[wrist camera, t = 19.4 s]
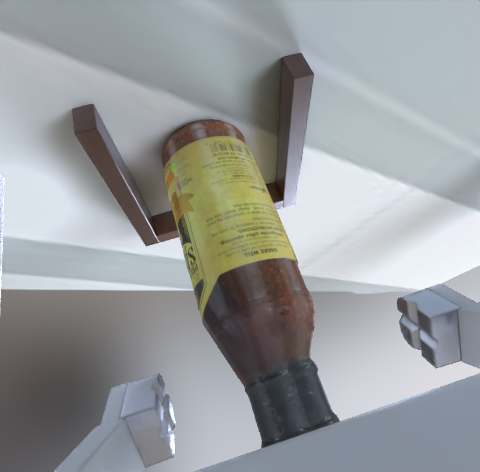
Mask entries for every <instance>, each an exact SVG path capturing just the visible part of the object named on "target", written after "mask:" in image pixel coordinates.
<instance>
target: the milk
mask: <svg viewBox="0 0 480 472" xmlns="http://www.w3.org/2000/svg"><path fill="white" fill-rule="evenodd" d="M3 204H4V176H2V175H0V300H1V268H2V236H3Z"/></svg>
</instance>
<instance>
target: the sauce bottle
mask: <svg viewBox="0 0 480 472" xmlns="http://www.w3.org/2000/svg"><path fill="white" fill-rule="evenodd" d="M162 159H163V161H162V162H163V166H164V180H165V184H166V188H167V192H168V196H169V200H170V203H171V207H172V210H173V214H174V218H175V222H176V225H177V230H178V234H179V237H180V240H181V245H182V248H183V253H184V257H185V260H186V264H187V269H188V271H189V274H190V278H191V281H192V285H193V289H194V293H195V296H196V299H197V303H198V309H199V311H200V314H201V318H202V322H203V325H204V327H205V328H206V330H207V331H208V332H209V334H210V335H211V337H212V339H213V340H214V342H215V343H216V344H217V346H218V348H219V349H220V351H221V352H222V354H223V355H224V357H225V358H226V360H227V361H228V363H229V364H230V366H231V367H232V369H233V371H234V372H235V373H236V375H237V377H238V378H239V379H240V381H241V382H242V384H243V385H244V387H245V392H246V393H247V395H248V397H249V399H250V402H251V405H252V409H253V412H254V415H255V419H256V422H257V426H258V429H259V432H260V435H261V438H262V447H261V449H262V448H264V447H267V446H270V445H273V444H276V443H279V442H282V441H285V440H288V439H291V438H294V437H296V436H299V435H302V434H305V433H308V432H311V431H314V430H317V429H320V428H323V427H326V426H328V425H331V424H334V423H337V422H340V421H339V419H338V417H337V416H336V415H335V414H334V413H333V412H332V409H331V407H330V404H329V402H328V399H327V396H326V394H325V391H324V389H323V387H322V384H321V381H320V379H319V376H318V373H317V372H318V368H317V365H316V364H315V363H314V362H313V361H312V360H311V358H310V348H311V341H312V332H313V330H314V313H315V311H314V306H313V302H312V300H311V296H310V294H309V291H308V290H307V288H306V286H305V283H304V280H303V278H302V276H301V273H300V271H299V269H298V261H297V258H296V256H295V253H294V251H293V249H292V246H291V244H290V242H289V239H288V237H287V234H286V232H285V230H284V227H283V225H282V223H281V220H280V218H279V215H278V213H277V211H276V208H275V206H274V204H273V201H272V199H271V196H270V194H269V192H268V189H267V187H266V185H265V182H264V180H263V178H262V175H261V173H260V171H259V168H258V166H257V164H256V161H255V159H254V156H253V154H252V151H251V150H250V149H249V147H248V146H247V145H246V142H245V140H244V136H243V135H242V133H241V132H240V131H239V130H238V129H237V128H236V127H234V126H233V125H231V124H228V123H224V122H222V121H219V120H200V121H198V122H195V123H192V124H189V125H187V126H186V127H184V128H182V129H180V130H179V131H177V132H176V133H174V134H173V135H172V136H171V137H170V138H169V140H168V142H166V145H165V147H164V149H163V153H162Z"/></svg>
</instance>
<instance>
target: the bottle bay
mask: <svg viewBox="0 0 480 472" xmlns="http://www.w3.org/2000/svg"><path fill="white" fill-rule="evenodd" d="M313 77H314V73H313V72H312V70H311V68H310V67H309V65H308V63H307V62H306V60H305V58H304V57H303V55H302V53H298V54H294V55H290V56H286V57H282V70H281V89H280V109H279V128H278V147H277V167H276V183H272V184H269V185H266V187H267V189H268V192H269V194H270V196H271V199H272V201H273V204H274V206H275V208H276V209H280V208H282V207H283V208H284V207H287V206H291V205H294V204H295V203H296V196H297V189H298V182H299V175H300V168H301V161H302V154H303V147H304V140H305V133H306V126H307V119H308V112H309V105H310V98H311V91H312V84H313ZM73 120H74V131H75V135H76V137H77V138H78V140H79V141H80V143H81V145H82V146H83V148H84V149H85V151H86V152H87V154H88V156H89V157H90V159H91V160H92V162H93V163H94V165H95V167H96V168H97V170H98V171H99V173H100V174H101V176H102V178H103V179H104V181H105V182H106V184H107V186H108V187H109V189H110V190H111V192H112V193H113V195H114V197H115V198H116V200H117V201H118V203H119V204H120V206H121V208H122V209H123V211H124V212H125V214H126V215H127V217H128V219H129V220H130V222H131V223H132V225H133V226H134V228H135V230H136V231H137V233H138V234H139V236H140V237H141V239H142V241H143V242H144V244H145V245H146V246H149V245H152V244H156V243H159V242H163V241H167V240H170V239H174V238H177V237H179V234H178V230H177V225H176V222H175V218H174V214H173V211H171V212H167V213H164V214H160V215H157V216H153V217H152V216H151V214H150V212H149V210H148V208H147V206H146V204H145V202H144V200H143V198H142V196H141V195H140V193H139V191H138V189H137V187H136V185H135V183H134V181H133V179H132V177H131V175H130V173H129V171H128V170H127V168H126V166H125V164H124V162H123V160H122V158H121V156H120V154H119V152H118V150H117V148H116V146H115V144H114V143H113V141H112V139H111V137H110V135H109V133H108V131H107V129H106V127H105V125H104V123H103V121H102V119H101V118H100V116H99V114H98V112H97V110H96V108H95V106H94V105H93V104H91V105H87V106H83V107H78V108H74V109H73Z"/></svg>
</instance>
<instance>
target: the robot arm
mask: <svg viewBox="0 0 480 472" xmlns="http://www.w3.org/2000/svg"><path fill="white" fill-rule="evenodd" d="M397 307H398V310H399V311H400V312H401V313H402V314H403V315H402V317H401V319H400V321H399V322H400V328H401V332H402V334H403V336H404V338H405V340H406V341H407V342H408V344H409V345H410V346H412V347H413V348H415V349H418V350H421V351H422V356H423V357H424V358H425V359H426V360H427V361H428V362H430V363H431V364H432V365H433V366H434V367H435V368H439V367H442V366H445V365H449V364H452V363H455V362H459V361H462V362H464V363H466V364H469V365H472V366H474V367H477V368H480V302H479V303H476V302H474V301H473V300H471V299H469V298H467V297H465V296H463V295H462V294H460V293H458V292H456V291H454V290H452V289H451V288H449V287H447V286H445V285H443V284H437V285H434V286H432V287H429V288H426V289H424V290H421V291H418V292H415V293H412V294H409V295H406V296H403V297H400V298H398V301H397ZM164 390H165V383H164V381H163V379H162V376H161V375H160V374H156V375H153V376H149V377H145V378H142V379H139V380H135V381H132V382H129V383H125V384H122V385H119V386H116V387H113V388H112V389H111V390H110V393H109V397H108V400H107V404H106V408H105V411H104V415H103V418H102V422H101V425H100V426H97V427H95V428H94V429H93V431H91V432H90V434H89V435H88V436H87V437H86V438H85V439H84V440H83V441H82V442H81V443H80V444H79V445H78V446H77V447H76V448H75V449H74V451H73V452H72V453H71V454H70V455H69V456H68V457H67V458H66V459H65V460H64V461H63V462H62V463H61V464H60V466H59V467H58V468H57V469H56V470H55V471H54V472H145V470H146V469H145V468H146V467H149V466H151V465H154V464H157V463H160V462H162V461H165V460H168V459H170V458H173V457H174V444H175V443H174V442H175V441H174V440H175V439H174V436H173V433H172V430H173V429H174V427H175V417H174V410H173V406H172V402H171V400H170V397H169V395H167V394H165V393H164ZM195 472H480V374H477V375H474V376H471V377H468V378H465V379H463V380H459V381H456V382H453V383H451V384H448V385H445V386H442V387H439V388H436V389H433V390H430V391H427V392H424V393H421V394H419V395H416V396H413V397H410V398H407V399H404V400H401V401H398V402H395V403H392V404H390V405H387V406H384V407H381V408H378V409H375V410H372V411H369V412H366V413H363V414H360V415H358V416H355V417H352V418H349V419H346V420H343V421H340V422H337V423H334V424H331V425H328V426H326V427H323V428H320V429H317V430H314V431H311V432H308V433H305V434H302V435H299V436H296V437H294V438H291V439H288V440H285V441H282V442H279V443H276V444H273V445H270V446H267V447H264V448H262V449H259V450H256V451H253V452H250V453H247V454H244V455H241V456H238V457H235V458H233V459H230V460H227V461H224V462H221V463H218V464H215V465H212V466H209V467H206V468H203V469H200V470H198V471H195Z"/></svg>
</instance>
